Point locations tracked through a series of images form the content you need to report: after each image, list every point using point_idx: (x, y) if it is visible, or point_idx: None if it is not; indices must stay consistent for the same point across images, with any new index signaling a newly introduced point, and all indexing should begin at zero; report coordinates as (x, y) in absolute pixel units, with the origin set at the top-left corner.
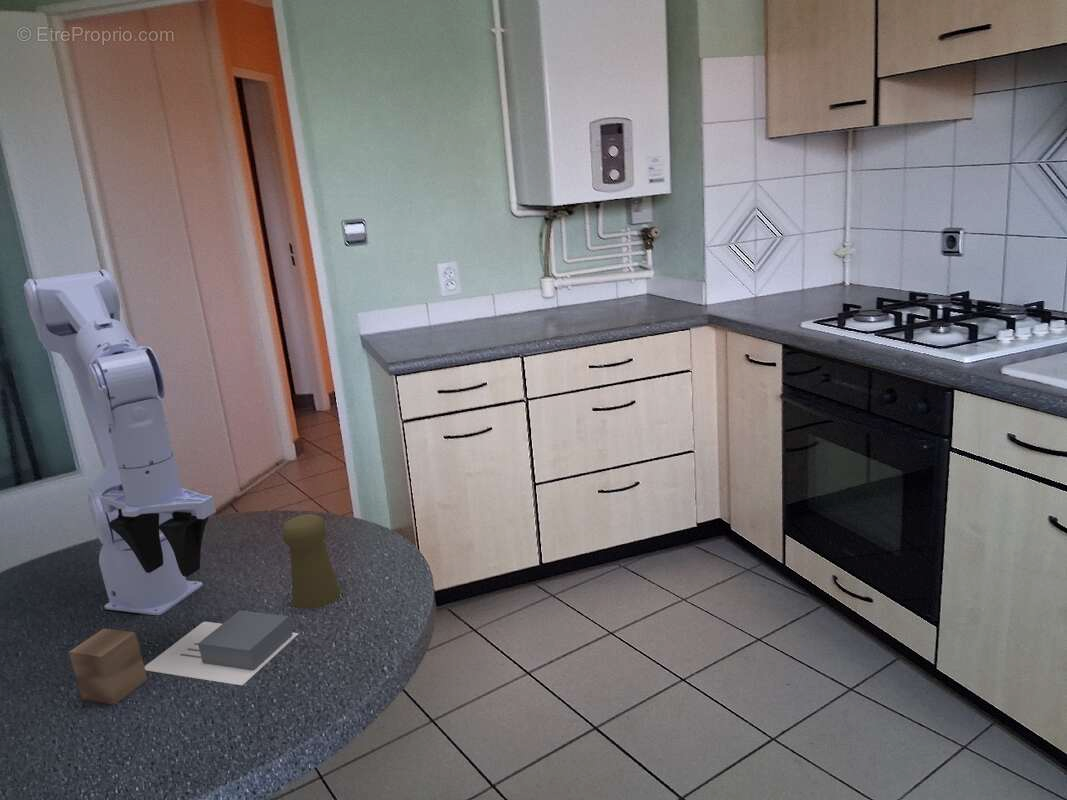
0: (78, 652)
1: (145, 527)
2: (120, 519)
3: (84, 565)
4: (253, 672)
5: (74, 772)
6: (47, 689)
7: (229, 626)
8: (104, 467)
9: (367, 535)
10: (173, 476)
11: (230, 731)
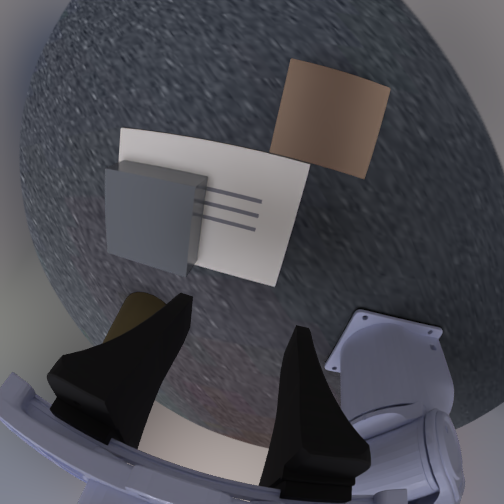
0: (363, 80)
1: (279, 440)
2: (337, 472)
3: (476, 395)
4: (122, 155)
5: None
6: (443, 134)
7: (172, 234)
8: None
9: (177, 406)
10: None
11: (96, 50)
